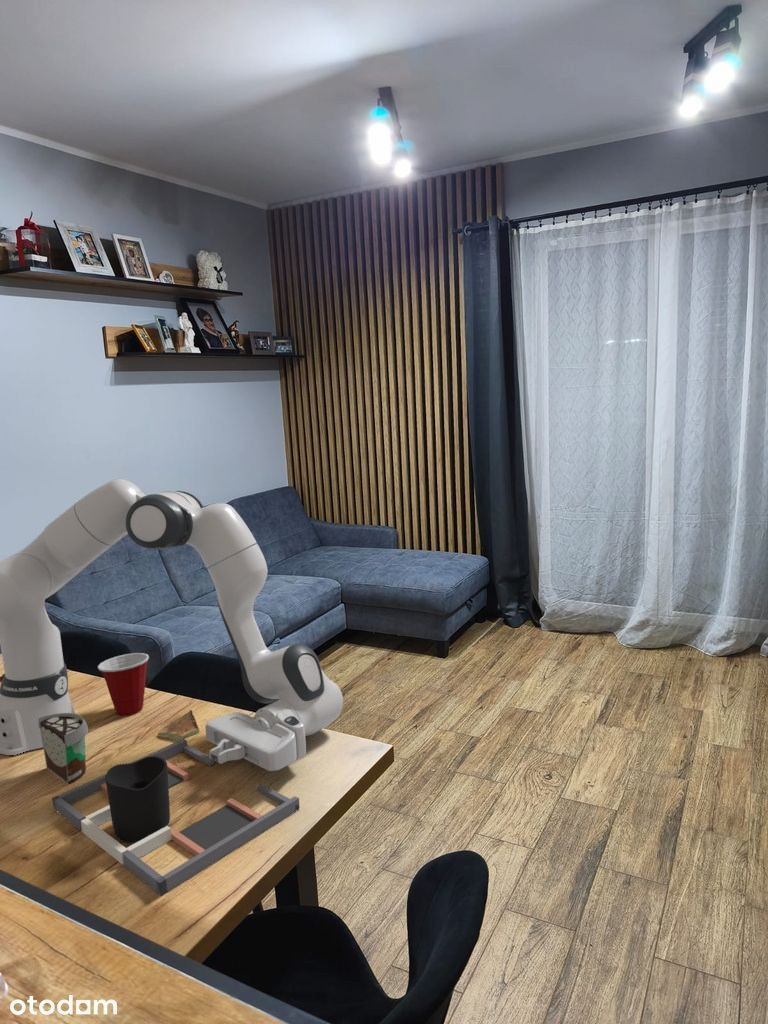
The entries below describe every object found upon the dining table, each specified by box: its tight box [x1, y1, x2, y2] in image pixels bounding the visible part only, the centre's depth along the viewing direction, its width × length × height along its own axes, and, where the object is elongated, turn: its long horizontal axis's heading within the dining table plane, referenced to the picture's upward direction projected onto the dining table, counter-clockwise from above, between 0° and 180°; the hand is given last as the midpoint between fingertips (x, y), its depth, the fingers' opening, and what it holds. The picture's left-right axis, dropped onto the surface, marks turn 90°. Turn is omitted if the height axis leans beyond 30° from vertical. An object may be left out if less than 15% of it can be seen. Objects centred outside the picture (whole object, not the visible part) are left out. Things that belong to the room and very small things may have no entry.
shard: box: [157, 709, 200, 742], centre depth 147 cm, size 11×8×2 cm
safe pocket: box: [81, 804, 173, 866], centre depth 111 cm, size 8×14×2 cm, turn 49°
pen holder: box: [105, 756, 171, 844], centre depth 112 cm, size 9×9×10 cm
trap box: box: [51, 738, 301, 896], centre depth 118 cm, size 26×34×2 cm
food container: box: [38, 713, 89, 786], centre depth 131 cm, size 12×6×10 cm, turn 48°
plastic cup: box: [97, 652, 150, 717], centre depth 156 cm, size 11×11×12 cm
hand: (214, 757), depth 123 cm, fingers closed
